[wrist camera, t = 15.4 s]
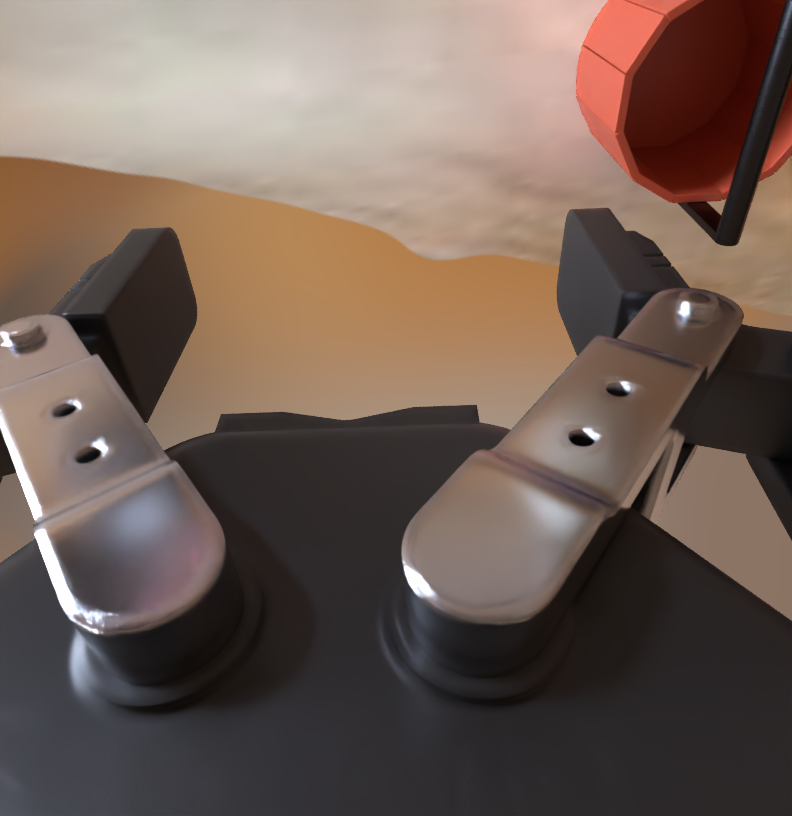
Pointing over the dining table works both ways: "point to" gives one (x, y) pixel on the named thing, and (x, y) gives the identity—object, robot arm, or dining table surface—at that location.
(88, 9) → the dining table surface
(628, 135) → the red bucket
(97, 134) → the dining table surface
